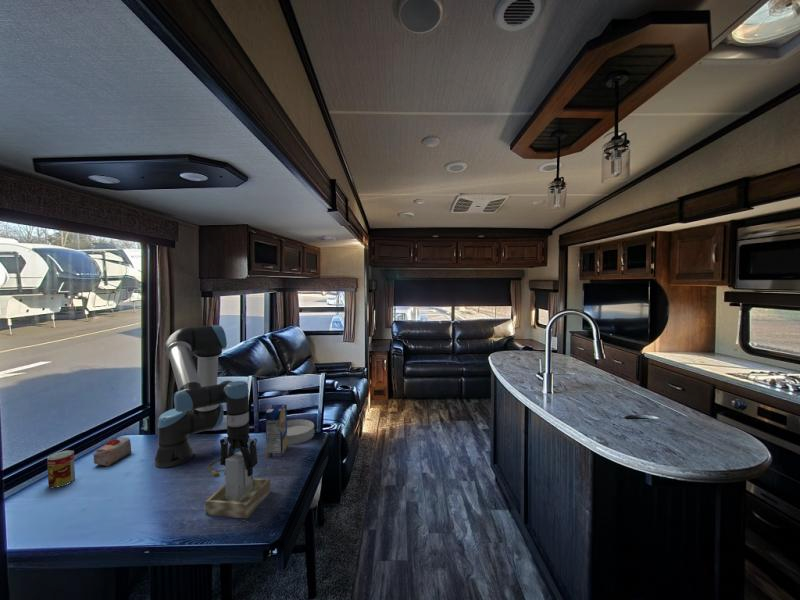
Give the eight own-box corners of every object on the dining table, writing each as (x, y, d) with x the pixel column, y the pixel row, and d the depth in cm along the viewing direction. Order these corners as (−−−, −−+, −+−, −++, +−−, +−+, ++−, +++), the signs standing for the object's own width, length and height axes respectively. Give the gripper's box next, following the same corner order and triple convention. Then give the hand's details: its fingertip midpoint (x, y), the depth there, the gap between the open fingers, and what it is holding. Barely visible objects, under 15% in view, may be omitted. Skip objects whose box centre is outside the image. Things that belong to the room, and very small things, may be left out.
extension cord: (197, 478, 146) (197, 474, 146) (216, 459, 162) (215, 455, 162) (226, 477, 146) (226, 473, 146) (242, 459, 162) (241, 455, 162)
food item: (108, 468, 154) (108, 446, 154) (91, 467, 154) (91, 446, 154) (133, 453, 168) (132, 433, 167) (117, 453, 168) (117, 433, 167)
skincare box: (237, 501, 124) (237, 461, 123) (224, 498, 125) (224, 459, 125) (253, 488, 132) (253, 451, 131) (240, 485, 134) (240, 448, 133)
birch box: (205, 514, 122) (205, 501, 122) (233, 488, 138) (232, 476, 138) (247, 518, 120) (247, 504, 120) (270, 491, 136) (270, 479, 136)
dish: (281, 427, 198) (281, 418, 198) (319, 427, 198) (319, 419, 197) (265, 445, 176) (265, 435, 176) (307, 445, 176) (307, 436, 175)
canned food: (48, 483, 142) (47, 455, 141) (74, 475, 148) (73, 448, 147) (48, 490, 137) (47, 461, 136) (75, 482, 142) (74, 454, 142)
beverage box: (266, 457, 162) (265, 412, 162) (273, 447, 173) (272, 404, 172) (281, 457, 163) (280, 412, 162) (287, 446, 174) (286, 404, 173)
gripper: (207, 426, 125) (209, 487, 126) (256, 428, 123) (258, 491, 124) (220, 418, 133) (222, 476, 133) (267, 420, 130) (268, 479, 131)
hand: (239, 483), depth 128 cm, fingers closed on skincare box, 6 cm apart
